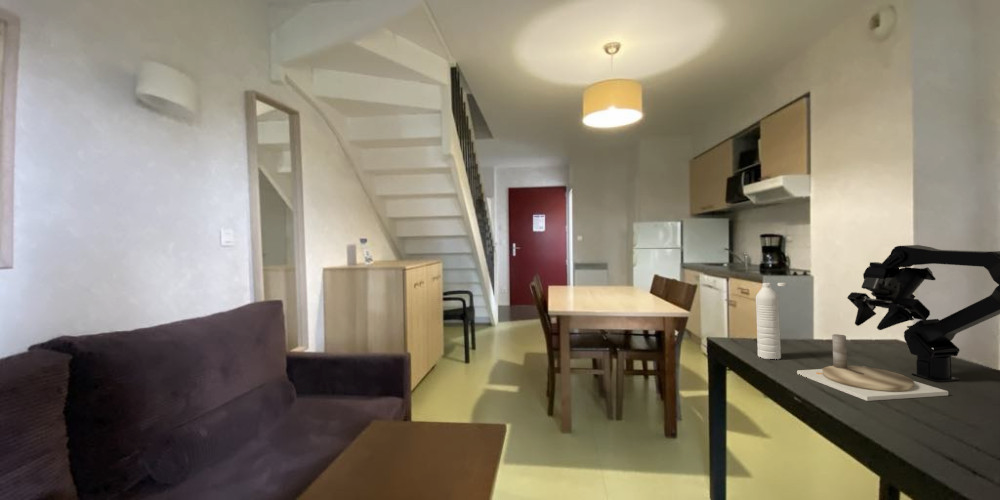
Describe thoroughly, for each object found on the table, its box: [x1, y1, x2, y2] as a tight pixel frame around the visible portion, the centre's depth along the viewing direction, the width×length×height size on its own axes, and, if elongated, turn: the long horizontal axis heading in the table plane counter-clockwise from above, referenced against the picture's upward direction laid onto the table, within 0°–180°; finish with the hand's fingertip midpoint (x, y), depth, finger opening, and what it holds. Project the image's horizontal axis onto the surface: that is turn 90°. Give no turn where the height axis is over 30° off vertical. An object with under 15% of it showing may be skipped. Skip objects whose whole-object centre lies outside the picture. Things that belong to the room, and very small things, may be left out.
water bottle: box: [755, 282, 788, 360], centre depth 134 cm, size 9×6×25 cm
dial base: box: [796, 366, 949, 402], centre depth 108 cm, size 21×21×1 cm
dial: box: [822, 333, 915, 391], centre depth 108 cm, size 18×18×10 cm
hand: (867, 326), depth 115 cm, fingers open, 6 cm apart
